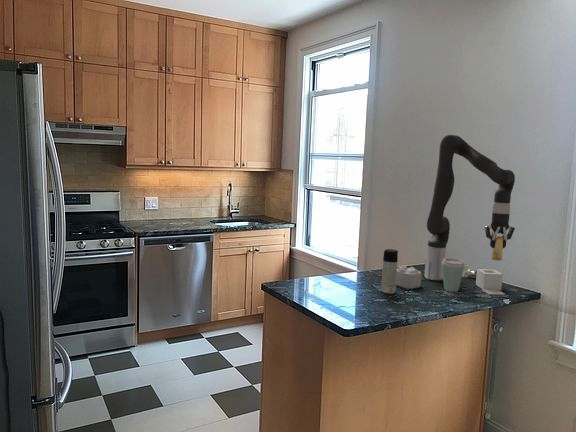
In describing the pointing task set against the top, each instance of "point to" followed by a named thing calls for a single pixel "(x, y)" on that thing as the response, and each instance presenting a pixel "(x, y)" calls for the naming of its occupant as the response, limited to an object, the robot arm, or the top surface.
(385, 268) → the spray can
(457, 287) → the disposable coffee cup
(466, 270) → the valve
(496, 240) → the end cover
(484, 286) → the box
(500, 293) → the mat
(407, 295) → the top surface
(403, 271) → the lumpy-topped squat cylinder
